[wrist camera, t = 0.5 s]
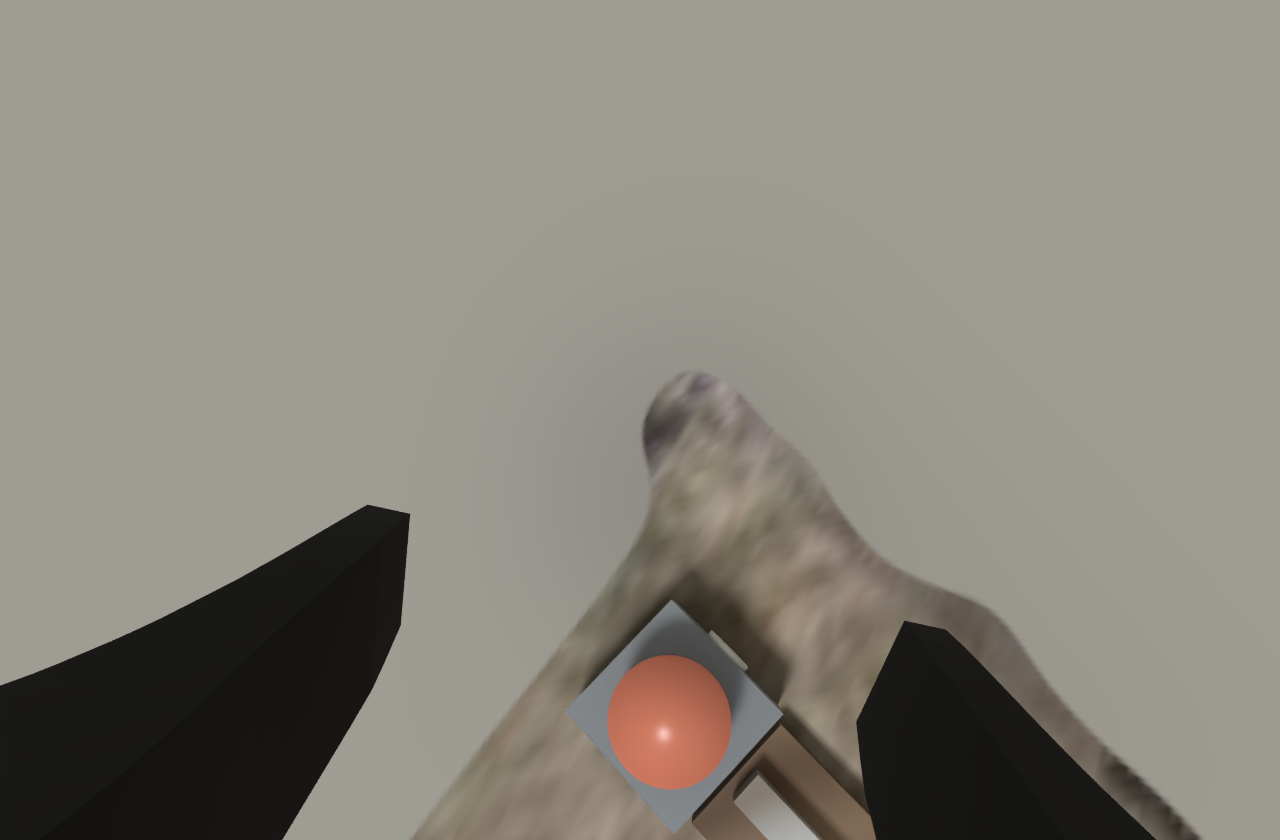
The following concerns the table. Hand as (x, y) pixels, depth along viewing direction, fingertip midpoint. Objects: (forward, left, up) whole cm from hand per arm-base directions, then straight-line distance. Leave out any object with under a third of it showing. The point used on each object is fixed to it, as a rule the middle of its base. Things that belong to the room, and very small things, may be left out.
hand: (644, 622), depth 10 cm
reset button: (-4, +2, -24) cm, 25 cm away
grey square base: (-4, +2, -27) cm, 27 cm away
